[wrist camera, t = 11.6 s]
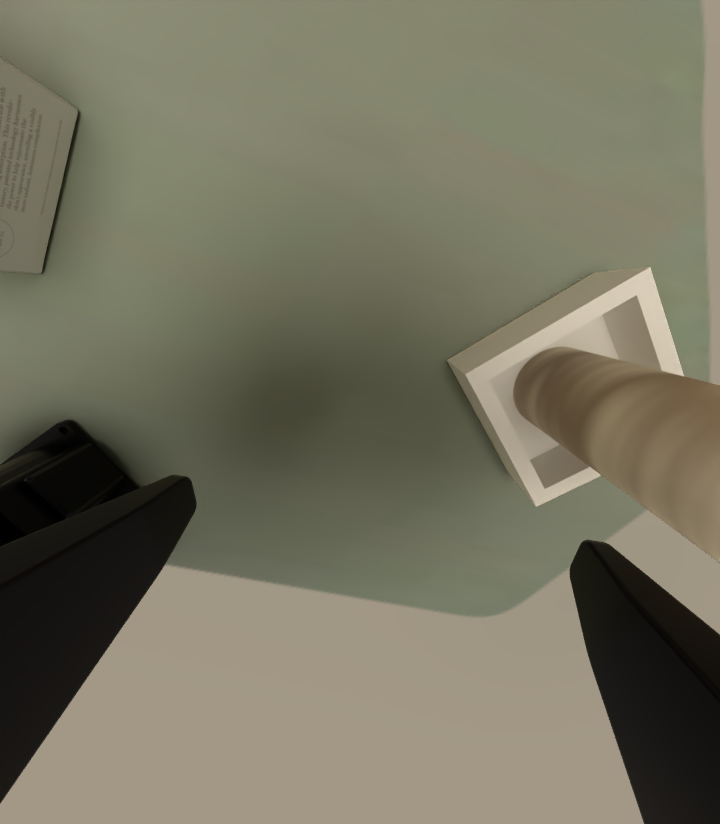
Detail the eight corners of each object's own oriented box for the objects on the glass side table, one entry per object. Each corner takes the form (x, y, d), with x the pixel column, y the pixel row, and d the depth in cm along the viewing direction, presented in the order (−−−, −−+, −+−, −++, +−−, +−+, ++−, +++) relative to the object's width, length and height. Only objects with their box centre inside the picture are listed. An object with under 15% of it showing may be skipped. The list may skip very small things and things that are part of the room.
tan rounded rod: (531, 438, 20) (826, 683, 7) (499, 375, 18) (793, 544, 6) (606, 399, 19) (1075, 598, 7) (578, 330, 17) (1100, 417, 5)
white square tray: (508, 473, 21) (536, 506, 18) (446, 360, 19) (465, 374, 16) (642, 405, 20) (699, 427, 16) (594, 272, 17) (649, 266, 14)
